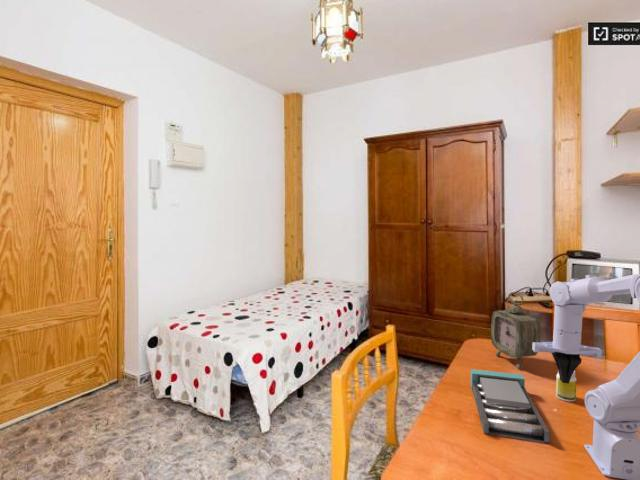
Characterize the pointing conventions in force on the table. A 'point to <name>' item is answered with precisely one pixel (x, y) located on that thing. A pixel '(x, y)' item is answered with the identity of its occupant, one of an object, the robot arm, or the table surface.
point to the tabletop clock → (515, 331)
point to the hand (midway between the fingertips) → (564, 381)
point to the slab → (503, 392)
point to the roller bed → (504, 434)
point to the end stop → (496, 376)
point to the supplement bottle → (566, 388)
